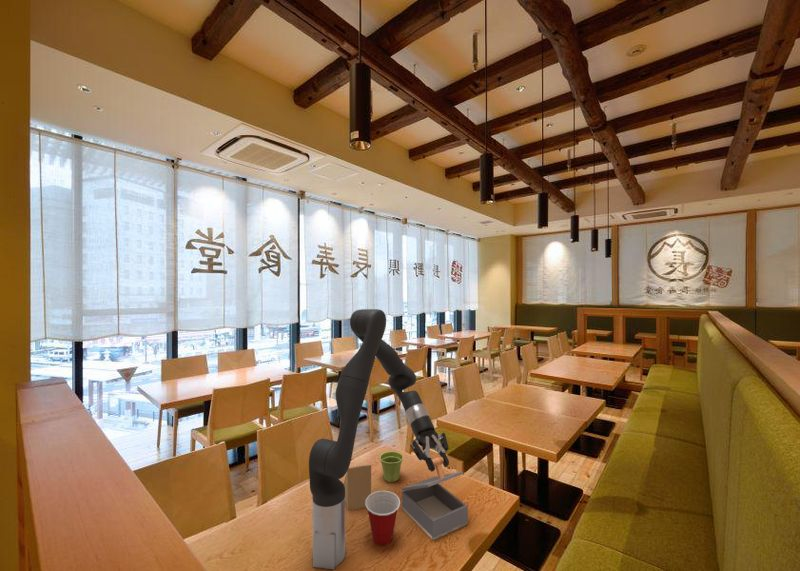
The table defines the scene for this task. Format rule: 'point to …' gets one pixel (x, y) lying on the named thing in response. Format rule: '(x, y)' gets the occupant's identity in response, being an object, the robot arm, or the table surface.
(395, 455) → the plant pot
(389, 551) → the table surface
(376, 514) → the plastic cup
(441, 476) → the carton lid
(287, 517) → the table surface
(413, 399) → the robot arm
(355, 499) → the sandwich container
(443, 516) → the carton
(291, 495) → the table surface
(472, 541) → the table surface
